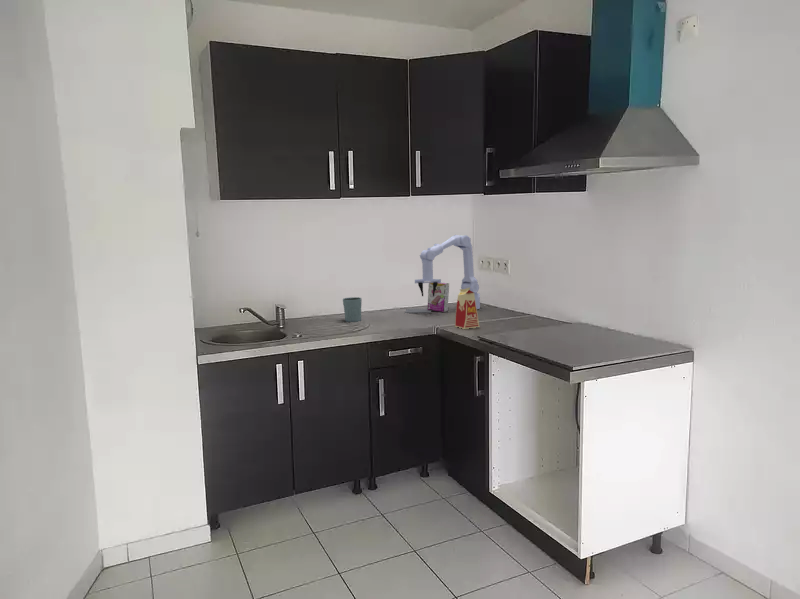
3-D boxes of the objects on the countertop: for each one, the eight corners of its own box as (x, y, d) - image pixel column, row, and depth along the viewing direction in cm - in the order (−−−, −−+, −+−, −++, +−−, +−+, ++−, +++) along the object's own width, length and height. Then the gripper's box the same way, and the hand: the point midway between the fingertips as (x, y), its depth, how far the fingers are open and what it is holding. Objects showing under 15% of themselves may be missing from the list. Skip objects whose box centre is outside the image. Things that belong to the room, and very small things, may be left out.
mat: (431, 309, 345) (431, 308, 344) (431, 313, 332) (431, 312, 332) (406, 309, 346) (406, 308, 346) (404, 313, 333) (404, 312, 333)
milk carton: (479, 327, 288) (479, 287, 285) (464, 329, 283) (464, 288, 280) (468, 324, 296) (468, 285, 293) (453, 326, 291) (453, 286, 288)
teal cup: (357, 322, 309) (356, 300, 307) (340, 321, 312) (339, 299, 310) (365, 319, 318) (364, 297, 316) (348, 318, 321) (347, 296, 320)
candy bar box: (426, 309, 339) (428, 281, 336) (431, 308, 343) (432, 281, 340) (444, 312, 333) (445, 283, 330) (448, 311, 337) (449, 283, 335)
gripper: (414, 272, 322) (414, 297, 324) (440, 272, 320) (441, 296, 322) (414, 271, 329) (415, 295, 331) (440, 270, 327) (441, 295, 329)
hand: (428, 295), depth 327 cm, fingers open, 5 cm apart
